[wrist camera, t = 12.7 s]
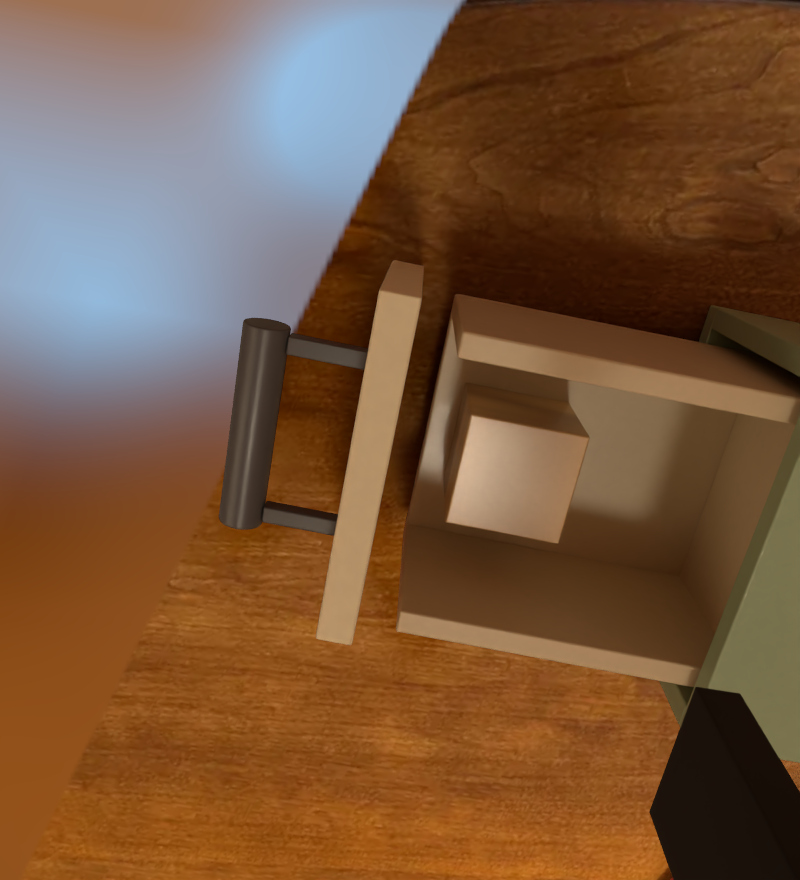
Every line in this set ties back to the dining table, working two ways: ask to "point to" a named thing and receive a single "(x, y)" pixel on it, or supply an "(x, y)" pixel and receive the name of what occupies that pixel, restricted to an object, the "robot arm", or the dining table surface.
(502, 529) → the block
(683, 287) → the dining table surface
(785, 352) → the cabinet
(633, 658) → the drawer
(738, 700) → the robot arm
